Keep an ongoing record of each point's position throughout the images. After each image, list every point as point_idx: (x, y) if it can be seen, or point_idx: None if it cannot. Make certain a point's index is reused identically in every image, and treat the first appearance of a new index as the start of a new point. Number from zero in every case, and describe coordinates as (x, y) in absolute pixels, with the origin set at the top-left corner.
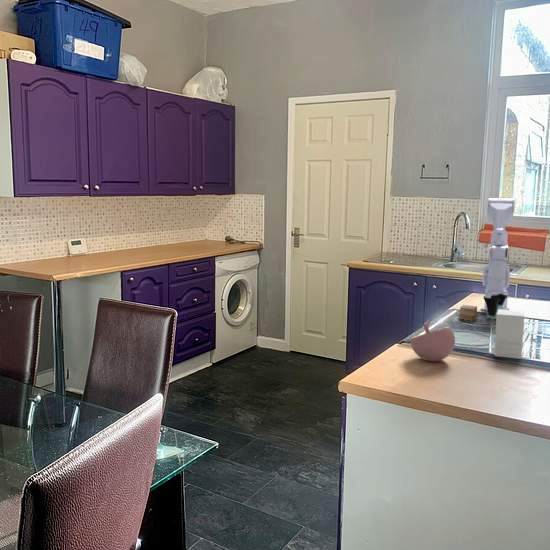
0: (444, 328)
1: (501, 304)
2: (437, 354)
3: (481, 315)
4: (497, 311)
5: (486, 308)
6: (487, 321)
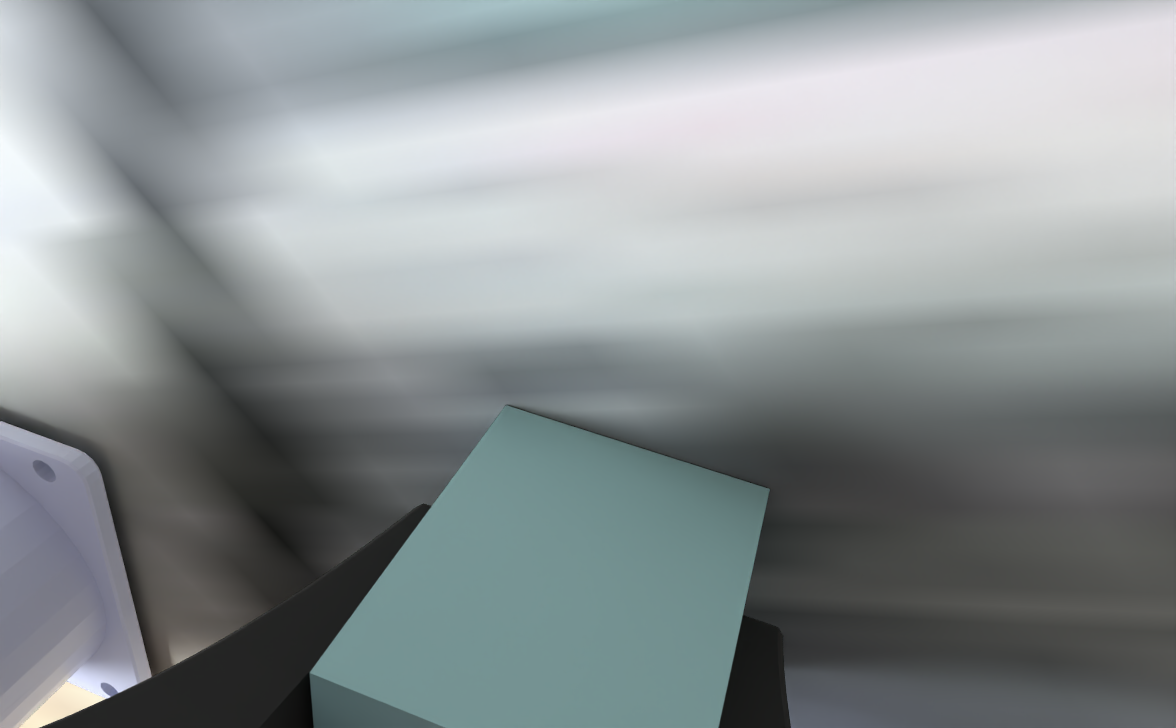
0: None
1: (289, 704)
2: None
3: None
4: (729, 674)
5: (94, 649)
6: (1063, 673)
